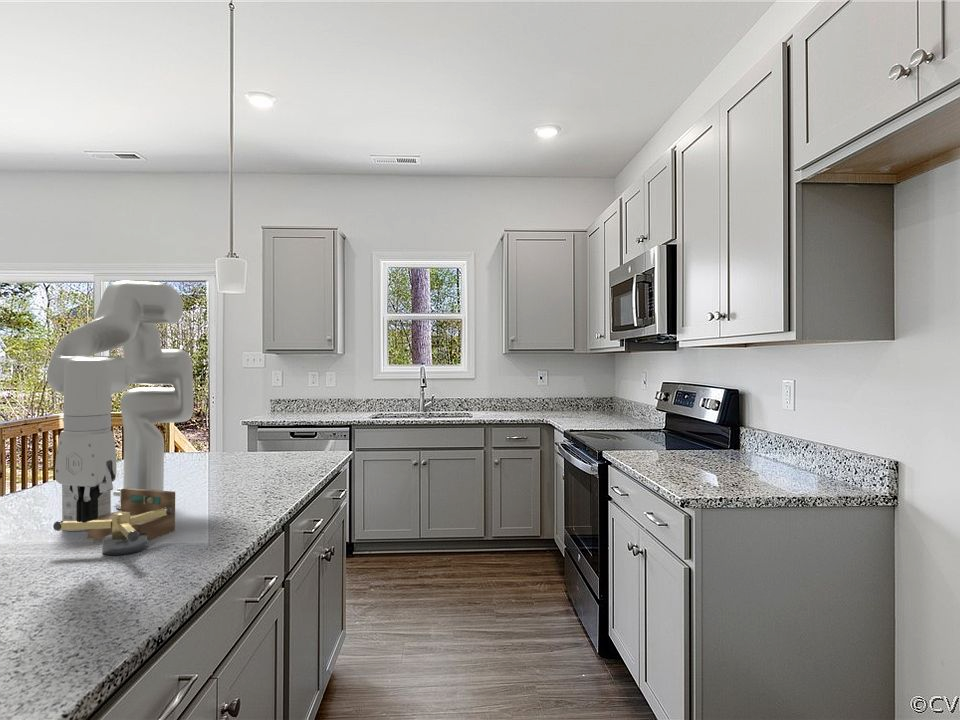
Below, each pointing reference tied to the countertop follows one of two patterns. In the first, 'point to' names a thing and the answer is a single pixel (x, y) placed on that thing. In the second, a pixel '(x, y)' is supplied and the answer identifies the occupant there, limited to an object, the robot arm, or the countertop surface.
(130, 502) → the level stand
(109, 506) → the supplement tub
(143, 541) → the tan branched rod piece
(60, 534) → the countertop surface
